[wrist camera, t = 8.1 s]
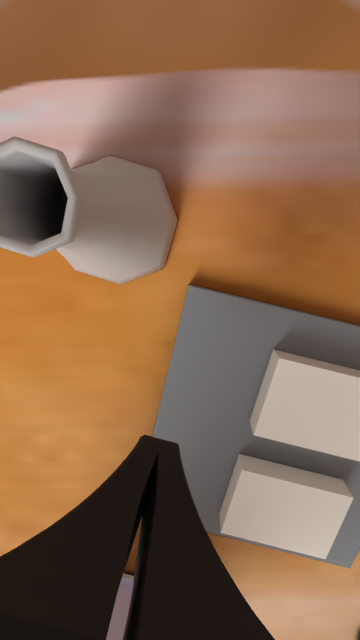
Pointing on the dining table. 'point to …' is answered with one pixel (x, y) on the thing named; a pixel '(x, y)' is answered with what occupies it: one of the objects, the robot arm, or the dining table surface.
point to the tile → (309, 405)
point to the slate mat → (247, 399)
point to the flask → (85, 211)
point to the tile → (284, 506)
